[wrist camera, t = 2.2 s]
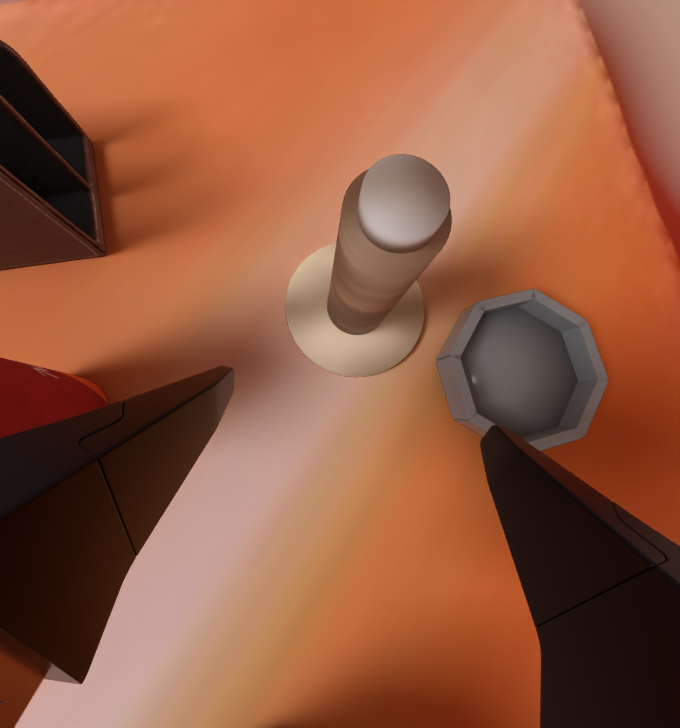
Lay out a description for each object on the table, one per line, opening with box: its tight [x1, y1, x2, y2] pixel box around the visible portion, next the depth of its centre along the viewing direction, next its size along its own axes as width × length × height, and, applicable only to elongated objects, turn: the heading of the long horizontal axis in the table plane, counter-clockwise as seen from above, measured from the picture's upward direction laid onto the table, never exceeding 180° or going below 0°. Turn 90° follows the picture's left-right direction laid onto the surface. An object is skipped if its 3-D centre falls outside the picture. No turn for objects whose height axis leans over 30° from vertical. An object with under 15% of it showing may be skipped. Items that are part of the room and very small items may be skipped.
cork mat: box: [285, 243, 424, 377], centre depth 25 cm, size 11×11×1 cm
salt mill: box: [327, 154, 452, 335], centre depth 18 cm, size 5×5×13 cm
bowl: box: [436, 289, 608, 451], centre depth 25 cm, size 12×12×2 cm
